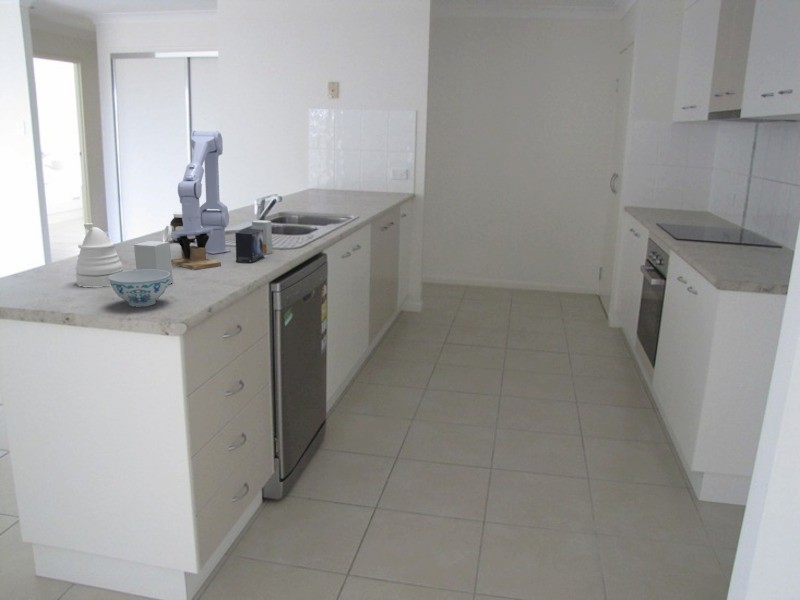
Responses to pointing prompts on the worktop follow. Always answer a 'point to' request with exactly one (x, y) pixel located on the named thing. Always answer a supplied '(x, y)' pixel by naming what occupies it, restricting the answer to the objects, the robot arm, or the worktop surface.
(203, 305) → the worktop surface
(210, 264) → the board
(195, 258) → the block
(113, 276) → the chinaware
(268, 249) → the skincare box
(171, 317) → the worktop surface
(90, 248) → the honey pot
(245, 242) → the small box
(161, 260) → the supplement box
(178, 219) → the spread jar
